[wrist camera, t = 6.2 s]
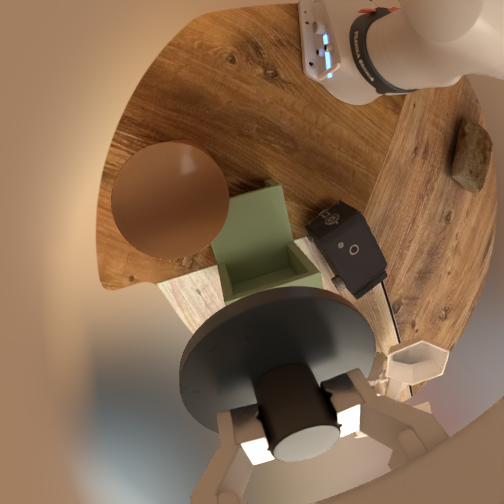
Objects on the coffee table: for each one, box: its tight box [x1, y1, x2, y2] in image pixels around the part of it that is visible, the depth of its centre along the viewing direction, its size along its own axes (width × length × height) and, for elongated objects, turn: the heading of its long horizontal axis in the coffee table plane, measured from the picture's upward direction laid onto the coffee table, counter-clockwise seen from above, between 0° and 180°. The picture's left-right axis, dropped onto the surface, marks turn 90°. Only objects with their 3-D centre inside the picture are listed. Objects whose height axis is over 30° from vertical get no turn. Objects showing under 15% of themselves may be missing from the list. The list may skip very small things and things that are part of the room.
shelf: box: [211, 178, 323, 306], centre depth 43 cm, size 14×12×18 cm
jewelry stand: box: [353, 337, 449, 438], centre depth 52 cm, size 25×16×25 cm
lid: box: [179, 286, 376, 462], centre depth 10 cm, size 8×8×4 cm
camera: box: [305, 200, 387, 299], centre depth 50 cm, size 11×11×15 cm
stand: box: [111, 139, 230, 259], centre depth 33 cm, size 9×9×26 cm
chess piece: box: [367, 352, 387, 385], centre depth 58 cm, size 10×10×15 cm
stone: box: [451, 118, 493, 193], centre depth 50 cm, size 11×9×15 cm
